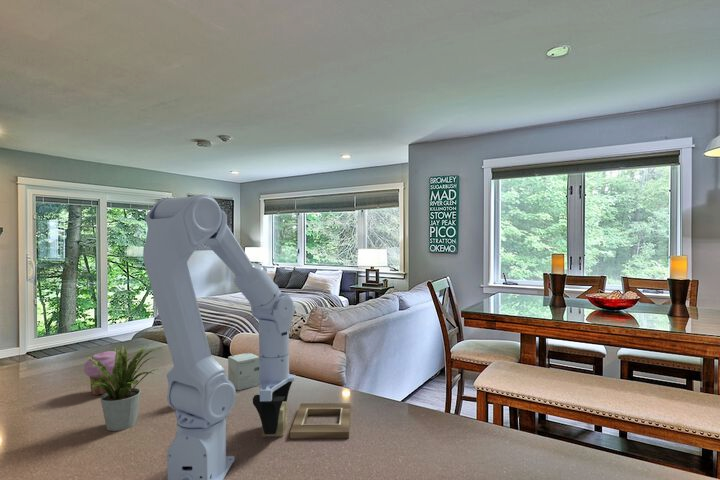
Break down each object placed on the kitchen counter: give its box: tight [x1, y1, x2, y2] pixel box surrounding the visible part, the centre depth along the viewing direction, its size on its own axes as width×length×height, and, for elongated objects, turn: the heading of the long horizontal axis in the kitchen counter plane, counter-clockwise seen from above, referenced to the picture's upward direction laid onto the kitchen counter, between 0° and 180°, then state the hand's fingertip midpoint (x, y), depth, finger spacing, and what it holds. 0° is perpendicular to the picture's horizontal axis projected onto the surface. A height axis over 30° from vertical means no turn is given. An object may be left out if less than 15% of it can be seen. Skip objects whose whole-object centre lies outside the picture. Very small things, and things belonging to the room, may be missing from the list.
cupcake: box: [83, 350, 116, 396], centre depth 99 cm, size 9×9×10 cm
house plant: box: [84, 343, 163, 432], centre depth 81 cm, size 14×14×16 cm
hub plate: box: [289, 402, 352, 439], centre depth 81 cm, size 13×11×1 cm
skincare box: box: [227, 352, 259, 391], centre depth 103 cm, size 6×6×7 cm
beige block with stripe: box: [261, 400, 288, 437], centre depth 78 cm, size 4×4×5 cm
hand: (274, 423), depth 78 cm, fingers open, 7 cm apart
